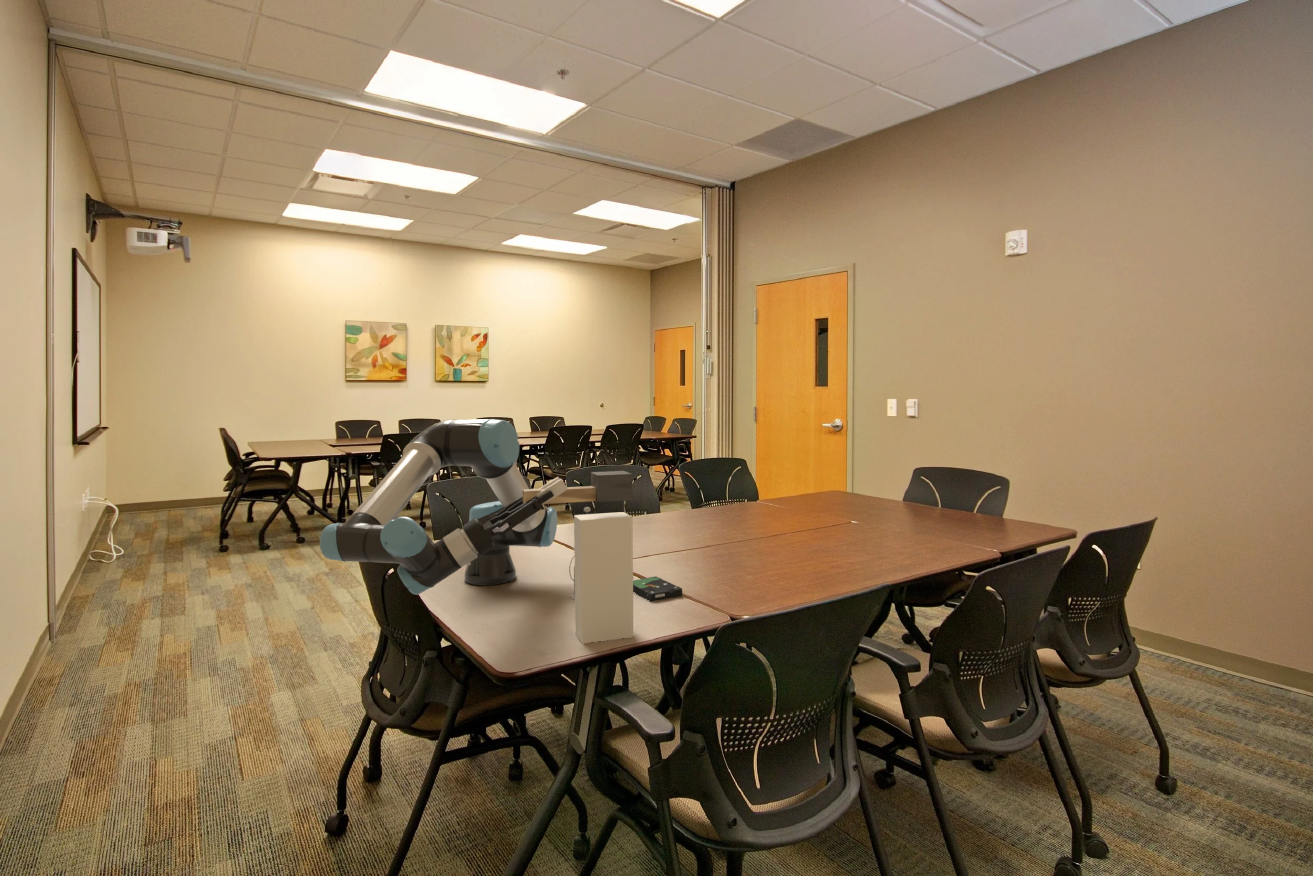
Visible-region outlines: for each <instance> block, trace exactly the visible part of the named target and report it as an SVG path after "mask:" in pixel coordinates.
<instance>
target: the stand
mask: <svg viewBox="0 0 1313 876" xmlns="http://www.w3.org/2000/svg"><path fill="white" fill-rule="evenodd" d="M633 523H634V522H633V516H631V515H629V514H628V513H626V512H624V511H622V512H619V511H618V512H616V511H615V512H603V513H588V514H587V513H585V514H574V515H573V528H574V529H573V532H574V533H573V536H574V537H573V538H574V539H573V541H574V545H573V547H574V550H573V551H574V556H575V557H574V565H575V600H574V608H575V609H574V610H575V611H574V612H575V613H574V614H575V615H574V619H575V621H574V623H575V634H576V636H577V638H578V639H579V641H580V643H581V644H583V643H585V644H591V642H593V643H599V642H598V641H601V642H607V640H608V641H615V640H622V638H624V639H629V638H634V593H633V581H634V548H633V547H634V545H633V544H634V543H633V535H634V534H633V533H634V532H633V529H634V527H633ZM583 645H584V644H583Z"/></svg>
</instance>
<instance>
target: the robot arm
mask: <svg viewBox="0 0 1313 876" xmlns="http://www.w3.org/2000/svg"><path fill="white" fill-rule="evenodd" d="M519 455H520V441H519V435H518V432H517V430H516V429H515V427H514V425H512V423H511V422H509V421H507V420H503V419H496V418H489V419H487V418H486V419H447V420H441V421H439V422H436V423H435V424H432V425H430V426H428V427H427V428H425V429H424V430H422V431H421V432H420V433H419V434H418V433H417V435H416V436H414V437H413V439H411V440H410V441H409V443H407V445H405V447H404V448H403V449H402V456H401V458H400V459H399V460H398V461H397V463H395V465H394V466H393V467H392V469H390V470H389V471H388V472H387V474H385V476H384V477H383V479H382V480H381V481H380V482H379V483H378V484H377V486H375V488H374V489H373V490H372V491H371V492H370V493H369V494H368V496H367V497H365V499H364V501H363V502H362V503H361V504H360V505H359V506H358V507H357V508H356V510H355V511H354V512H353V513H352V514H351V515H350V517H348V518H347V520H346V521H345V522H336V523H331V524H327V525H326V526H325V527H324V528H323V530H322V531H321V535H320V538H319V549H320V551H321V554H322V555H323V557H325V559H328V560H332V561H338V562H343V563H344V562H345V563H346V562H356V563H357V562H358V563H360V562H361V563H363V562H364V563H367V562H368V563H383V564H399V565H398V567H397V569H396V570H397V575H398V576H399V578H400V580H401V582H402V583H403V585H404V586H405V587H406V588H407V590H408V591H409V592H410V593H411V594H413V595H417V596H418V595H420V594H422V593H423V592H425V591H427V590H429V589H431V588H434V587H435V586H436V585H437V584H439V583H440V582H442V581H444V580H445V579H447V578H449V577H450V576H451V575H453V574H455V573H456V572H457V571H458V570H460V569H462V568H463V567H464V566H465V565H466V567H465V571H464V582H465V581H466V582H468V583H467V584H469V583H470V585H472V586H473V585H474V586H495V585H500V584H499V583H502V584H505V583H504V582H506V583H509V582H508V581H510V582H512V581H514V580H515V579H516V578H517V570H516V568H515V565H514V561H513V559H512V556H511V551H510V550H511V549H510V546H514V547H537V548H545V547H546V548H547V547H548V548H549V547H551V545H552V544H553V543H554V541H555V538H556V534H557V528H558V513H557V510H556V508H554V507H551V506H549V507H545V505H547V504H546V503H547V502H549V501H550V500H552V499H554V498H555V497H557V496H558V495H560V494H561V493H563V492H565V491H566V490H568V489H567V487H568V486H567V485H566V483H565V482H564V481H563V479H562V478H560V477H559V476H557V477H555V478H553V479H552V480H551V481H548V482H547V483H545V484H544V485H542V486H541V487H539V488H538V489H544V490H542V491H541V492H539V493H538V494H536V497H533V498H532V499H530V500H529V501H527V502H525V503H524V504H523V490H525V489H530V488H529V486H528V484H527V483H526V481H525V479H524V477H523V475H522V473H521V472H520V469H519V467H518V466H517V464H516V462H517V460H518V458H519ZM449 466H454V467H471V469H472V470H473V472H474V474H475V475H476V476H478V477H479V478H481V479H484V480H486V481H487V483H488V485H489V486H490V488H491V490H492V491H493V492H494V494H495V496H496V497H497V499H498V501H492V502H491V501H490V502H485V503H480V504H476V505H474V506H472V507H471V508H470V509H469V513H468V514H469V516H468V517H469V519H468V522H466V523H465V524H463V525H462V528H459V527H458V528H456V529H455V530H453V531H452V532H450V533H449V534H447V535H445V536H443V537H442V538H441V539H439V540H438V541H436V542H434V541H433V540H432V539H431V538H430V536H429V535H428V533H427V531H425V529H424V528H423V527H422V526H421V525H420V524H418V523H417V522H416V521H415V520H414V519H413V518H411V517H408V516H399V514H400V513H401V512H402V511H403V509H404V508H405V507H406V506H407V504H408V503H409V502H410V500H411V499H412V498H413V497H414V496H415V494H416V493H417V492H418V490H419V489H420V488H421V486H423V484H424V483H425V481H426V480H427V479H428V478H429V477H430V476H434V475H435V474H437V473H438V472H439V470H441V468H445V467H449ZM545 488H546V489H545ZM398 516H399V517H398ZM515 577H516V578H515ZM514 578H515V579H514ZM513 579H514V580H513ZM511 580H512V581H511ZM466 582H465V583H466Z"/></svg>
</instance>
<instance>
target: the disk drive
mask: <svg viewBox="0 0 1313 876" xmlns="http://www.w3.org/2000/svg"><path fill="white" fill-rule="evenodd" d="M633 592H635V593H636V594H635V593H634V594H635V595H637V594H638V595H637V596H639V597H640V598H643V599H645V600H646V599H647V600H646V601H648V600H649V602H651V603H652V601H653V602H658V600H659V601H661V600H662V601H664V600H669V599H674V598H681V597H683V588H682V587H680V586H677V585H675V584H673V583H671V582H670V581H667V580H665V579H663V578H661V577H659V576H649V577H644V578H640V579H636V580H634V579H633Z"/></svg>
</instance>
